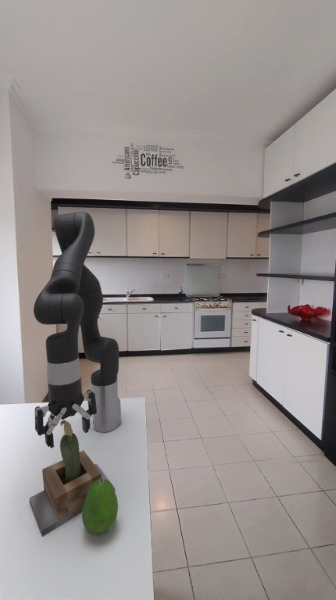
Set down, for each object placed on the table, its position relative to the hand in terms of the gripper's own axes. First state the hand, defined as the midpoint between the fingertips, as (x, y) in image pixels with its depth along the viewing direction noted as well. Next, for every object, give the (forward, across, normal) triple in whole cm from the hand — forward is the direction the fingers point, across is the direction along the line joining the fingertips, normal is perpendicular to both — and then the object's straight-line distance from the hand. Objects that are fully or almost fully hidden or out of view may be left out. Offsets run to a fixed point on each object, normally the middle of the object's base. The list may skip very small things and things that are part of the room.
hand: (69, 438), depth 68 cm
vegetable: (+15, 0, 0) cm, 15 cm away
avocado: (+17, -2, +12) cm, 21 cm away
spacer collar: (+17, 0, 0) cm, 17 cm away
